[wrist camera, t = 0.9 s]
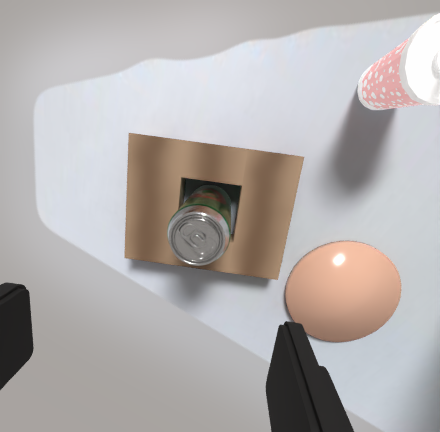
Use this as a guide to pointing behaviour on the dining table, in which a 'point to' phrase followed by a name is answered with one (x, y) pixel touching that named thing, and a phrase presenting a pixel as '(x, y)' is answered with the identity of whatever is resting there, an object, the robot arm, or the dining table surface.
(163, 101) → the dining table surface
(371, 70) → the beverage cup
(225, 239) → the soda can
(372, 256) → the peach domed disc
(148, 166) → the pocket board
